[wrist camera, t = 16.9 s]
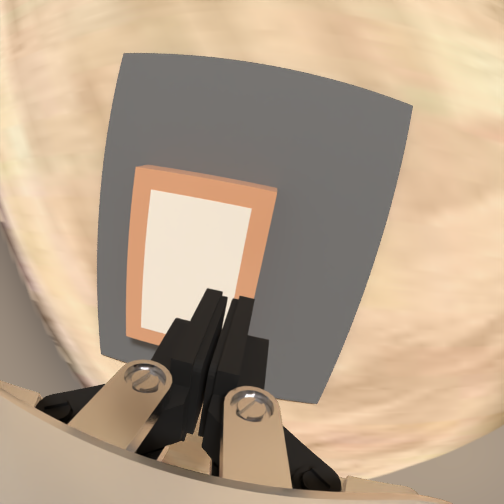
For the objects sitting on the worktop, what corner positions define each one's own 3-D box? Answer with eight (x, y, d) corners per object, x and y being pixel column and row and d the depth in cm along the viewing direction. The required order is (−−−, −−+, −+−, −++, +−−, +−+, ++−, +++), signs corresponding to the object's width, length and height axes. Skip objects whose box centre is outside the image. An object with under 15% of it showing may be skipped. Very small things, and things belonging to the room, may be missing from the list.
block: (277, 187, 16) (147, 164, 16) (277, 192, 14) (135, 166, 14) (241, 348, 19) (135, 323, 19) (238, 364, 18) (125, 336, 18)
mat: (126, 54, 14) (123, 53, 14) (409, 106, 14) (412, 105, 14) (103, 351, 21) (100, 354, 21) (316, 400, 21) (317, 403, 20)
